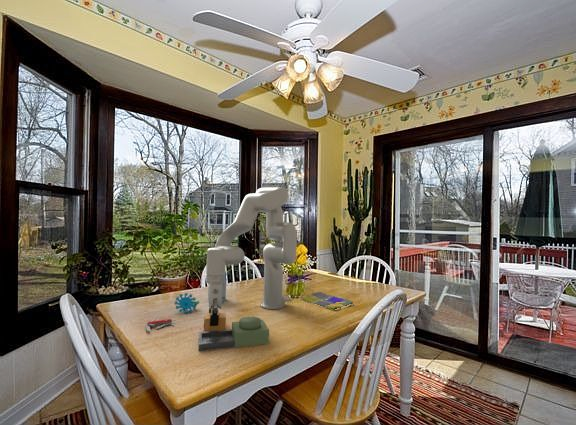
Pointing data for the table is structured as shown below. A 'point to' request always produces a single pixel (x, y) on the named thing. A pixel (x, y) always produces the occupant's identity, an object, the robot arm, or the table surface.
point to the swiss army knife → (159, 323)
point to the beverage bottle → (224, 288)
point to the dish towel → (319, 296)
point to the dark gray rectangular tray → (216, 340)
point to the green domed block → (250, 332)
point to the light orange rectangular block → (220, 325)
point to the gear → (186, 303)
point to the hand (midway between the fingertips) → (213, 321)
